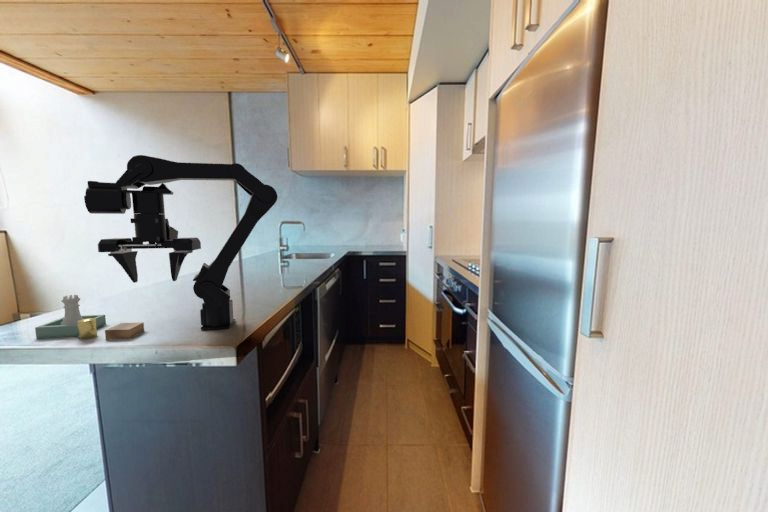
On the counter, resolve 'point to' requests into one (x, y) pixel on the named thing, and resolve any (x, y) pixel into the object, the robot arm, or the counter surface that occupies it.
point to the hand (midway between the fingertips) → (155, 281)
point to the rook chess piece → (71, 310)
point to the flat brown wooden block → (124, 330)
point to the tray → (65, 327)
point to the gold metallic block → (87, 328)
